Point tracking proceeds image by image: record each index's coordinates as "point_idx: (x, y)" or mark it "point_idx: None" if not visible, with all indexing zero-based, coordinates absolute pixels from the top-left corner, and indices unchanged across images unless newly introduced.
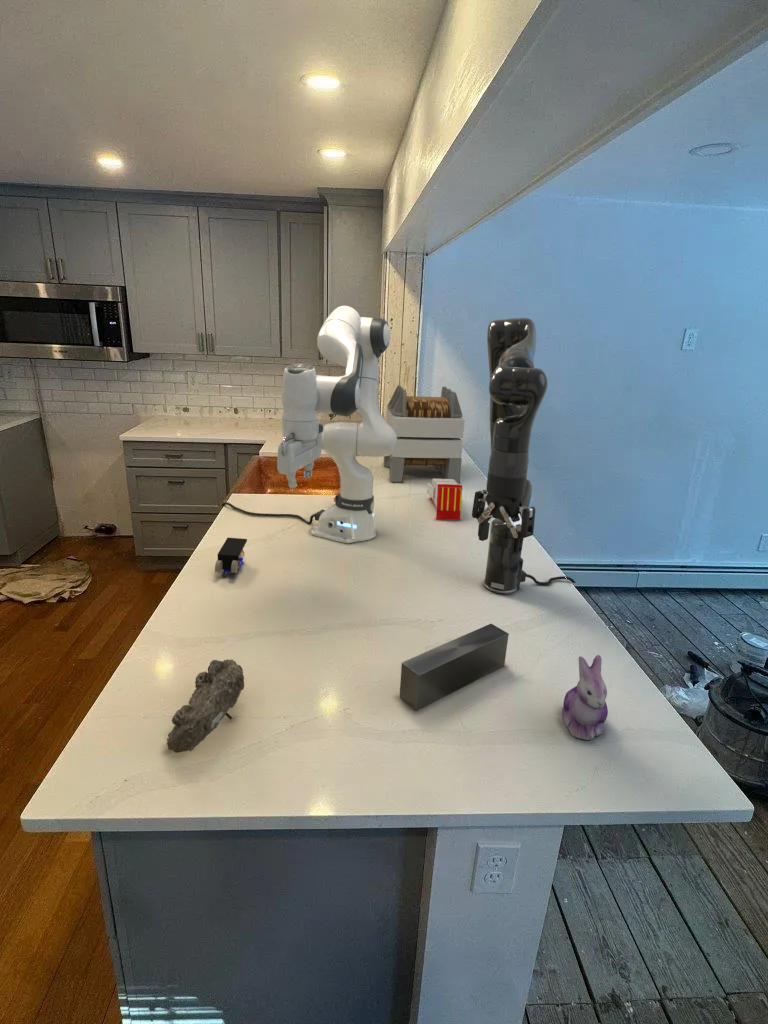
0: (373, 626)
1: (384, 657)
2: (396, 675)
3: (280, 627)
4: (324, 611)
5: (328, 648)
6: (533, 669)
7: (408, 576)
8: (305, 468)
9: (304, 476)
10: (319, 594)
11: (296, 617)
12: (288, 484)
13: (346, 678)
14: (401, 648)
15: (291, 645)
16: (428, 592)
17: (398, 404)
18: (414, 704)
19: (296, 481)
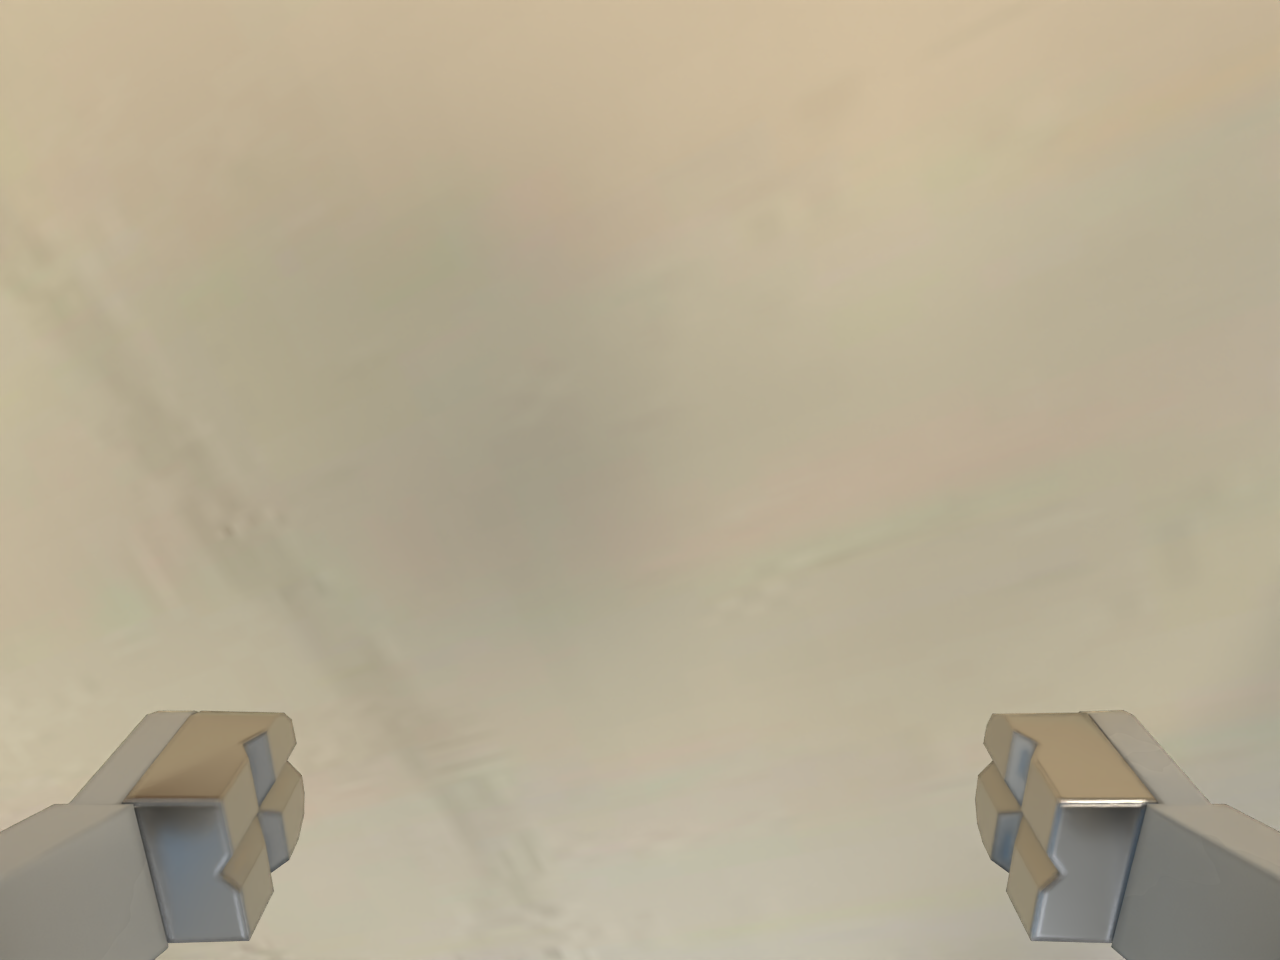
0: (410, 768)
1: None
2: None
3: (186, 386)
4: (437, 530)
5: (149, 657)
6: None
7: (967, 792)
8: (1209, 856)
9: (1001, 739)
10: (603, 438)
11: (315, 422)
12: (127, 740)
13: (7, 779)
14: (303, 896)
15: (78, 504)
16: (814, 900)
17: None
18: None
19: (216, 924)
